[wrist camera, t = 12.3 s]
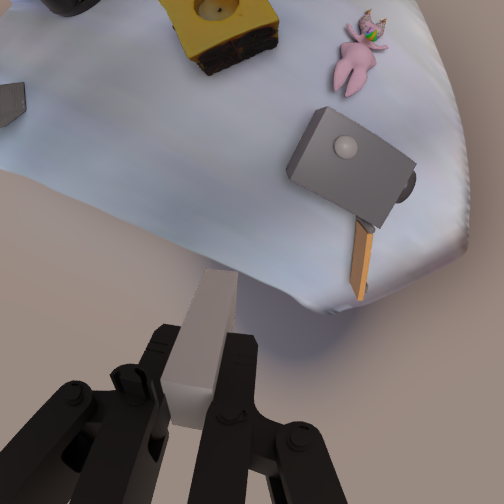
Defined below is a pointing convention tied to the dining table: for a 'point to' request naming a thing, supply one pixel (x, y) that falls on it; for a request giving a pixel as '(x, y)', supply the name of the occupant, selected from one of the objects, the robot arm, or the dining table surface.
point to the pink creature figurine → (358, 55)
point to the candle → (223, 30)
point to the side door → (361, 257)
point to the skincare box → (11, 102)
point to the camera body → (351, 167)
